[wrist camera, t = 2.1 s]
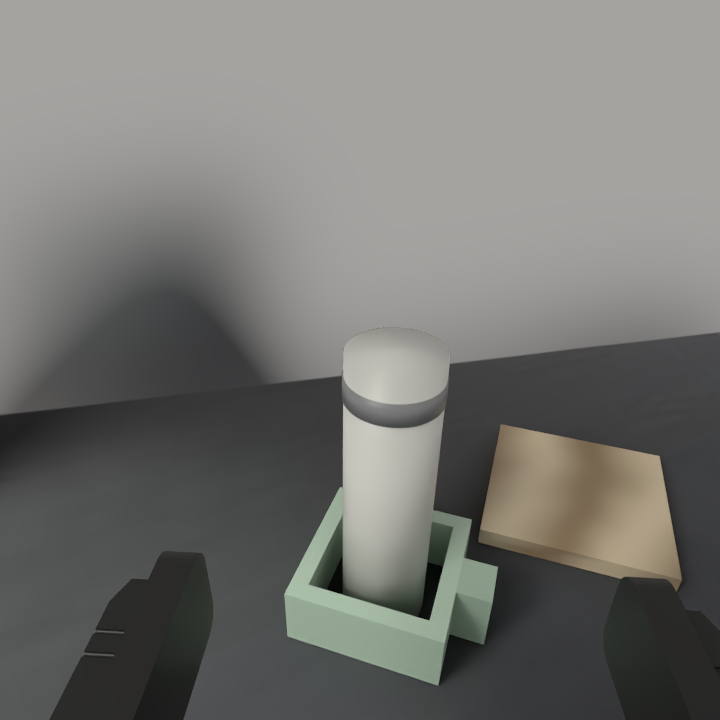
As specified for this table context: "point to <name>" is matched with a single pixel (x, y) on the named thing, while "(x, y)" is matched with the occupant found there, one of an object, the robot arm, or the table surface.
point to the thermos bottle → (391, 462)
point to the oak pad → (580, 506)
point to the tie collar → (383, 625)
